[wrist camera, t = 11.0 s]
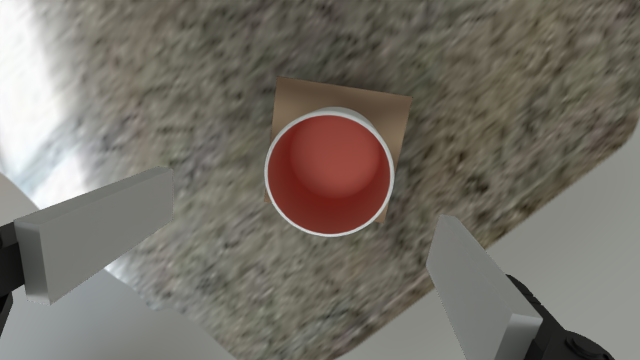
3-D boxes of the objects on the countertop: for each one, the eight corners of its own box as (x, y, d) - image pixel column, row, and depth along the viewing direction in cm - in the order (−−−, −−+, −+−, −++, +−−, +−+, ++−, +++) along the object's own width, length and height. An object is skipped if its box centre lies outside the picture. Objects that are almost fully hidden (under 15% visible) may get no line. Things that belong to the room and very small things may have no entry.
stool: (291, 79, 38) (277, 76, 31) (400, 96, 38) (412, 97, 30) (280, 182, 42) (264, 201, 35) (377, 199, 42) (383, 223, 34)
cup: (388, 111, 31) (405, 118, 21) (374, 202, 33) (383, 245, 24) (292, 101, 31) (266, 103, 22) (286, 191, 34) (261, 228, 25)
